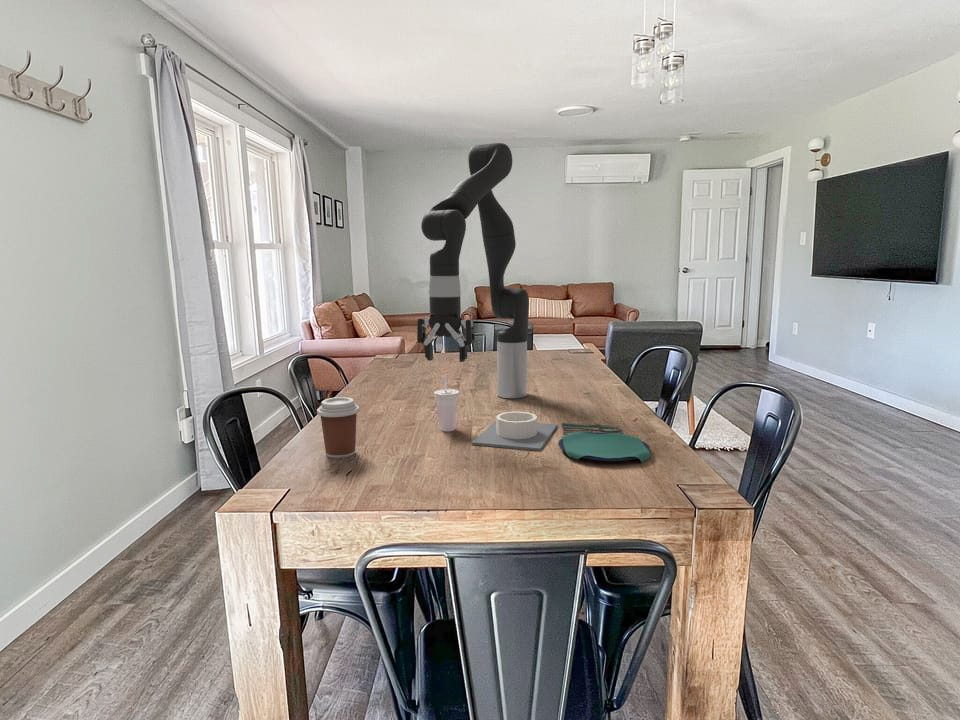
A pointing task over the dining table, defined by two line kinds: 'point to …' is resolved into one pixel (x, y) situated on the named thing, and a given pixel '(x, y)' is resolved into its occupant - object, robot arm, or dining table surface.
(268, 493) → the dining table surface
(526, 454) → the dining table surface
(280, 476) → the dining table surface
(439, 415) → the smoothie
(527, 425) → the sleeve stand
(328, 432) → the coffee cup
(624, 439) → the cutlery set
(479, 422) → the dining table surface
